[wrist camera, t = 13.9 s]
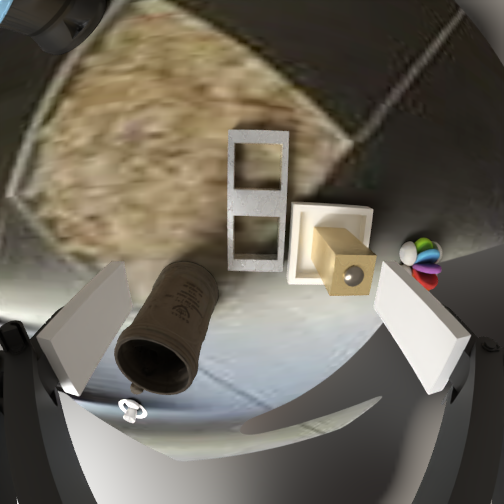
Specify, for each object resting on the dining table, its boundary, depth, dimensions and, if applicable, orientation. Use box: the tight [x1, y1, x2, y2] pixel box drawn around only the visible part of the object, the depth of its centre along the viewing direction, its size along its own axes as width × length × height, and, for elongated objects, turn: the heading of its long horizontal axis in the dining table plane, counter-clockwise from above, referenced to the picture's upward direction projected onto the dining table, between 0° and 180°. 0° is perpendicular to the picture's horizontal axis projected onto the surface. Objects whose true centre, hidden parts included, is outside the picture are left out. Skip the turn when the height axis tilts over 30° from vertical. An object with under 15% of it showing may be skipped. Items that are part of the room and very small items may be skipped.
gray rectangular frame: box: [228, 130, 289, 272], centre depth 38 cm, size 20×8×2 cm, turn 179°
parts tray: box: [287, 202, 373, 284], centre depth 40 cm, size 12×12×2 cm
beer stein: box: [114, 262, 218, 395], centre depth 36 cm, size 15×10×20 cm
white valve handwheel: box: [119, 399, 147, 423], centre depth 55 cm, size 9×8×4 cm
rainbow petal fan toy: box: [400, 238, 442, 291], centre depth 39 cm, size 8×10×7 cm
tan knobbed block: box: [311, 227, 377, 296], centre depth 35 cm, size 5×5×12 cm
